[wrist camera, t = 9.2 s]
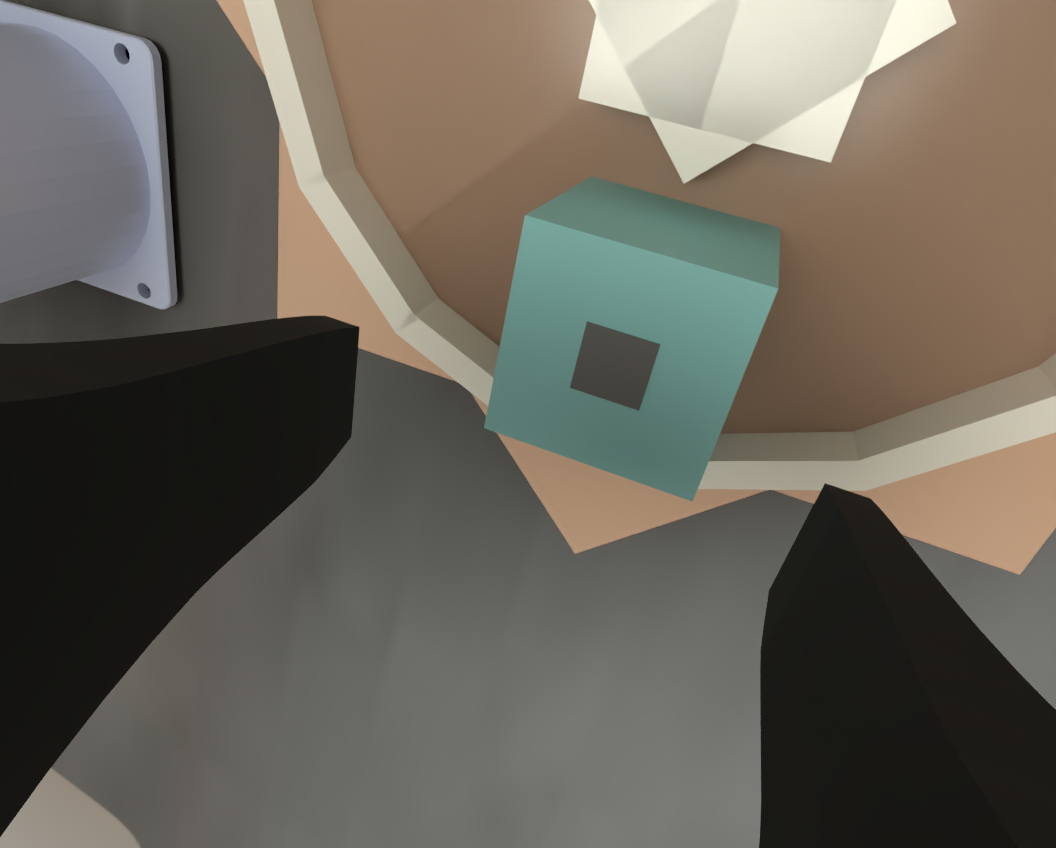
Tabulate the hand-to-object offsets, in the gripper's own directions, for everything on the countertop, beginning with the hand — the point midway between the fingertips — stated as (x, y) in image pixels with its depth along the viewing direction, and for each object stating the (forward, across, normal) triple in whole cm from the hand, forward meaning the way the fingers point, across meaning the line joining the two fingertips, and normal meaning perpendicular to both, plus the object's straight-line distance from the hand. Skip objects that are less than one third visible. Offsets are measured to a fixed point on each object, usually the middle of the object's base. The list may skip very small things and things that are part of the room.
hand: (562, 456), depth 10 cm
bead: (+8, 0, 0) cm, 8 cm away
